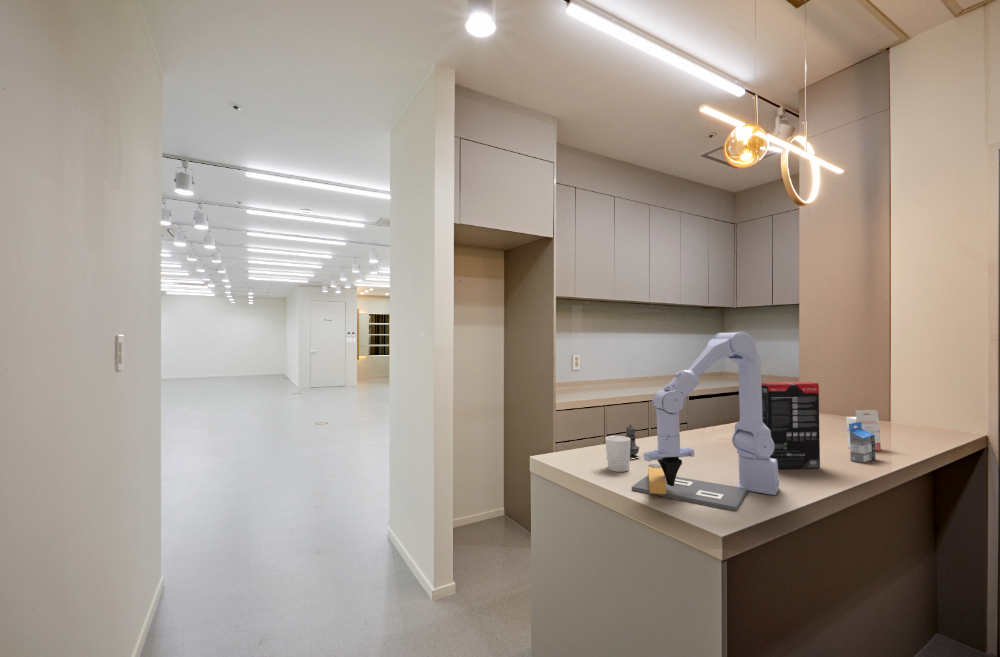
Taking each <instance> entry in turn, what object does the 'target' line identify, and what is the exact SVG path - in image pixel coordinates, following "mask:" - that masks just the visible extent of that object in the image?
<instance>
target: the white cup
mask: <svg viewBox="0 0 1000 657" xmlns="http://www.w3.org/2000/svg"><path fill="white" fill-rule="evenodd" d="M625 436H626V435H625ZM625 436H624V435H609V436H606V437H605V438H604V439H605V452H606V460H607V469H608V470H609V471H612V472H615V473H616V472H617V473H625V471H626V472H628V470H630V462H631V459H630V438H629V437H625Z"/></svg>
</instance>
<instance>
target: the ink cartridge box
mask: <svg viewBox="0 0 1000 657" xmlns="http://www.w3.org/2000/svg"><path fill="white" fill-rule="evenodd" d="M866 413H867V415H866ZM864 414H865V415H864ZM845 420H846V434H847V435H846V436H847V437H846V438H847V448H848V449H850V429H849V424H852V423H856V422H861V426H862V429H863V430H865V431H867V432H869V433H871V434H873V435H875V452H876V451H882V450H881V449H882V447H881V446H882V445H881V431H880V418H879V412H878V410H877V409H864V410H863V409H861V410H858V409H857V410H855V416H846V417H845ZM854 428H857V426H856V425H855V426H854Z"/></svg>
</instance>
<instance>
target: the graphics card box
mask: <svg viewBox="0 0 1000 657" xmlns="http://www.w3.org/2000/svg"><path fill="white" fill-rule="evenodd" d="M819 387H820V385H819V382H812V381H810V382H809V381H805V382H804V381H803V382H802V381H796V382H795V381H794V382H793V381H792V382H791V381H790V382H789V381H788V382H783V381H782V382H779V381H778V382H761V392H762V420H763V423H764V424H765V425H766V426H767V427H768V428H769V429H770V431H771V438H772V440H773V442H774V451H773V453H772V455H771V456H770V458H773V459H777V463H778V469H820V468H821V449H820V447H821V446H820V439H821V438H820V436H821V435H820V388H819Z"/></svg>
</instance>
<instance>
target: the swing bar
mask: <svg viewBox="0 0 1000 657" xmlns="http://www.w3.org/2000/svg"><path fill="white" fill-rule="evenodd" d="M647 467H648V468H647V469H648V470H647V471H648V474H647V475H648V476H649V488H650V493H657V494H666V482H665V476H664V472H663V470H662V467H661V466H660V464H659V463H658V464H657V463H651V464H648V466H647Z"/></svg>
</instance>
